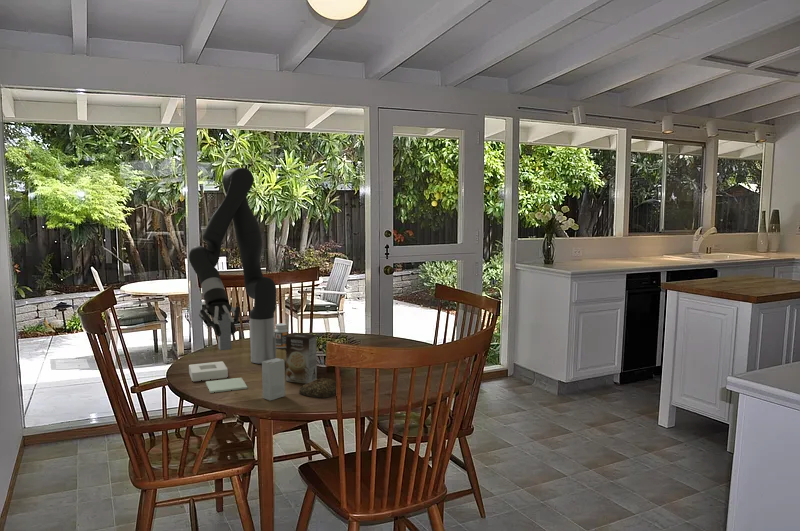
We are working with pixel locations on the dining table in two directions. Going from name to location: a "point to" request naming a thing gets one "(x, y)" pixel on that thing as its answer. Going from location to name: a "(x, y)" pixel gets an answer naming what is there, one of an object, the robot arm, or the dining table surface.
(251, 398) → the dining table surface
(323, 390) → the brown rock
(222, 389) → the sage mat
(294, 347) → the coffee box
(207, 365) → the key socket
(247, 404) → the dining table surface
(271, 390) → the skincare box
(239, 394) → the dining table surface
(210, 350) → the dining table surface
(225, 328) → the t-key
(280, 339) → the pill bottle
